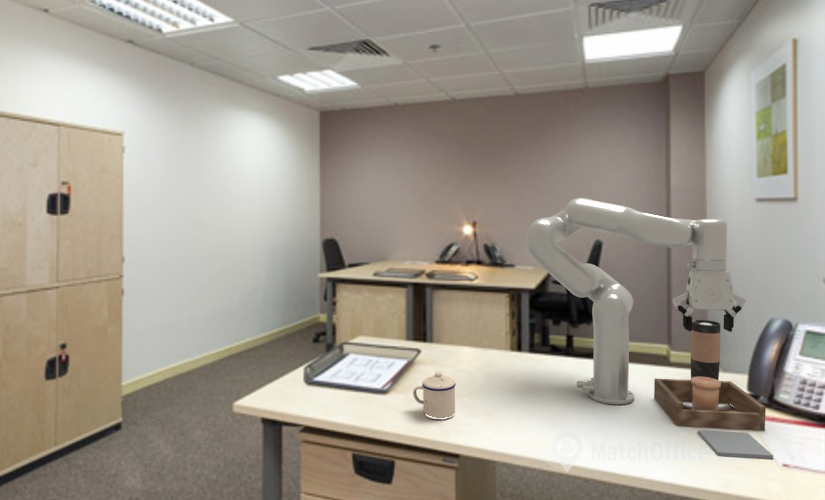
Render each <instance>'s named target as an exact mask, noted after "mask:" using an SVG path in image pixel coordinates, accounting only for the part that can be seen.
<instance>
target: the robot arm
mask: <svg viewBox="0 0 825 500" xmlns="http://www.w3.org/2000/svg"><path fill="white" fill-rule="evenodd" d="M585 229H587V230H592V231H597V232H601V233H606V234H610V235H612V236H613V235H614V236H618V237H621V238H626V239H630V240H634V241H639V242H643V243H649V244H651V245H656V246H661V247H665V248H670V249H679V248H683V247H684V246H688V245H689V246H690V245H692V259H691V261H687V263H686V267H687V268H691V270H689V274H688V277H687V282H686V289H685V292H684V293H681V294H680V295H678V296H675V297H673V298H672V300H671V301H672V302H673V304H674V306H675V308H676V309H677V311H679V313H681V314H682V326H683V328H684V329H685V330H686V331H688V332H692V322H693V317H692V315H691V314H692V313H693V312H695V310H697V311H723V312H724V314H723V329H724V330H725V331H727V332H729V333H730V332H731V333H732V332H733V328H734V321H735V317H736V316H737V314H738V313H739V312H740V311H741V310H742V307H744V305H745V303H746V299H744V298H743V297H741V296H739V295H737V294H735V293H734V289H733V281H732V276H731V273H730V271H727V246H728V245H727V241H728V234H727V233H728V224H727V221H726V220H725V219H721V218H702V219H687V218H685V219H684V218H671V217H665V216H660V215H657V214H656V215H655V214H652V213H646V212H643V211H639V210H636V209H634V208H632V207H629V206H625V205H621V204H616V203H610V202H605V201H599V200H594V199H591V198H587V197H578V198H574V199H571V200H570V201H569V202H568V203H567V205H566V207H565V209H563V210H561V211H560V212H557V213H556V214H554V215H551V216H550V217H547V216H546V217H541V218H538V219H536V220H534V221H533V222H532V223H531V224H530V226H529V228H528V230H527V234H526V247H527V250H528V252H529V255H530V257H532V259H533V260H534V261H535V262H536V263H537V264H538V265H539V266H540V267H541V268H543V270H545V271H546V272H547V273H548V274H549V275H550V276H551V277H552V278H554V279H555V280H556V281H557V282H558V283H560V284H561V285H562V286H563V287H564V288H565V289H566V290H568V291H569V292H570V293H571V294H572V295H573V296H575V297H577V298H589V300H591V301H592V302H593V303H592V307H591V308H592V310H591V311H592V315H591V316H592V326H593V329H592V330H593V369H592V370H593V376H592V377H591V378H590V380H587V381H582V380H577V381H576V387H577V388H579V389H582V390H583V391H587V396H589V397H590V398H591V399H592V400H594V401H596V402H599V403H603V404H608V405H627V404H631V403H632V402H634V400H635V395H634V393H633V392H631V391H630V390H629V374H630V373H629V371H630V370H629V367H630V366H629V364H630V363H629V360H630V359H629V357H630V355H629V354H630V332H629V328H630V327H629V315H630V312H631V311H632V309H633V306H634V298H633V296H632V294H631V292H630V291H629V290H628V289H627V288H626V287H625V286H623V285H622V284H621V283H619V282H618V281H617V280H616V279H614V278H613V277H612V276H611V275H609V274H608V273H607V272H606V271H605V270H604V269H602V268H600V267H598V266H596V265H595V264H592V263H589V262H588V263H582V262H580V261H579V260H578V259H577V258H575V257H574V256H572V254H570V253H569V252H568V251H566V250H565V249H564V248H562V247H561V246H559V245H558V243H560V242H562V241H564V240H565V239H567V238H570V237H572V236H573V235H575V234H577V233H579V232H581V231H582V230H583V231H584V230H585ZM682 301H683V302H684V301H685V306H682ZM734 301H735V305H734Z"/></svg>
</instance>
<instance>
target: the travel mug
mask: <svg viewBox="0 0 825 500" xmlns="http://www.w3.org/2000/svg"><path fill="white" fill-rule="evenodd" d="M690 332H691V336H690V338H691V339H690V379H691V378H692V377H697V376H702V377H709V378H713V379H716V380H719V378H720V366H721V365H720V364H721V323H720V322H718V321H715V320H714V321H713V320H709V319H708V320H707V319H696V320H695V321H694V322H693V321H692V331H690ZM719 381H720V380H719Z"/></svg>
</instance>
